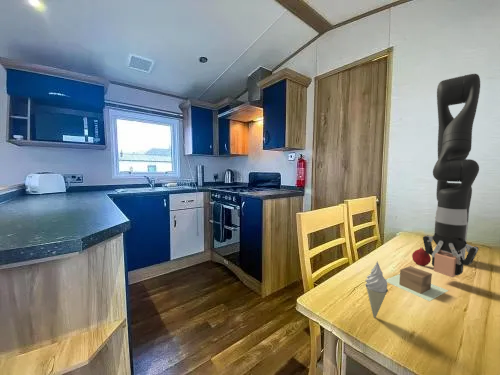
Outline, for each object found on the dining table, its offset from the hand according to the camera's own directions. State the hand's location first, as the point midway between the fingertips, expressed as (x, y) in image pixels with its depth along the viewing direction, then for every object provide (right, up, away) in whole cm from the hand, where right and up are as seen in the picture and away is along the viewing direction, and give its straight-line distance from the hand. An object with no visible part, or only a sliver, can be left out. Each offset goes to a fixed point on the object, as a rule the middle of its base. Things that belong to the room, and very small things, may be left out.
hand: (446, 270), depth 73 cm
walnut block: (-13, -4, -3) cm, 14 cm away
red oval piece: (+3, -4, +14) cm, 15 cm away
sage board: (-12, -5, -2) cm, 14 cm away
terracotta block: (0, 0, 0) cm, 1 cm away
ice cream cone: (-33, -6, -16) cm, 37 cm away
